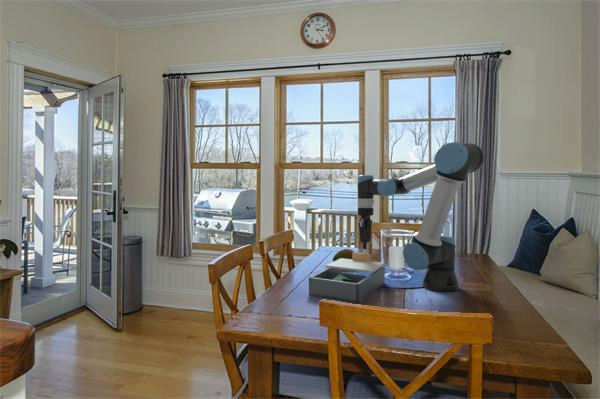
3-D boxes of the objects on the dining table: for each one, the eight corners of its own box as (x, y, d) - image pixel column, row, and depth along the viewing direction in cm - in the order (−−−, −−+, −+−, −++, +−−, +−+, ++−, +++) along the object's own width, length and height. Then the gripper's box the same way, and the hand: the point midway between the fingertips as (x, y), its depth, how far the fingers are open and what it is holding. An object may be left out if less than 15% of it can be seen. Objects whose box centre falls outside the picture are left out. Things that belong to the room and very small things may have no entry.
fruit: (360, 268, 208) (360, 250, 208) (339, 271, 204) (339, 252, 203) (349, 264, 219) (349, 246, 219) (329, 266, 215) (329, 248, 214)
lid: (384, 265, 181) (384, 255, 181) (372, 273, 166) (372, 262, 166) (340, 260, 192) (340, 251, 192) (325, 267, 177) (325, 257, 177)
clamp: (341, 304, 162) (343, 287, 158) (328, 299, 164) (329, 282, 160) (351, 286, 171) (354, 270, 167) (339, 281, 174) (341, 266, 169)
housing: (384, 282, 182) (384, 266, 181) (358, 303, 153) (358, 284, 153) (341, 276, 193) (340, 261, 192) (308, 295, 164) (308, 277, 163)
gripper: (368, 208, 181) (368, 258, 183) (377, 206, 193) (377, 253, 194) (353, 207, 185) (353, 257, 187) (363, 205, 196) (363, 252, 198)
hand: (365, 255), depth 190 cm, fingers closed
